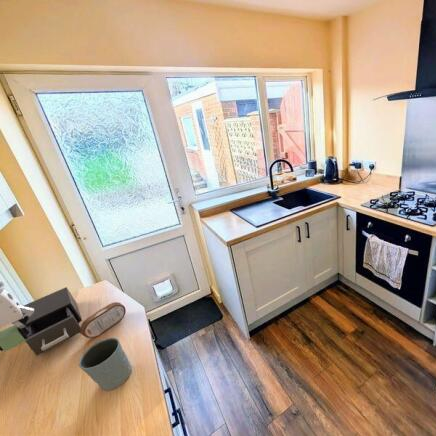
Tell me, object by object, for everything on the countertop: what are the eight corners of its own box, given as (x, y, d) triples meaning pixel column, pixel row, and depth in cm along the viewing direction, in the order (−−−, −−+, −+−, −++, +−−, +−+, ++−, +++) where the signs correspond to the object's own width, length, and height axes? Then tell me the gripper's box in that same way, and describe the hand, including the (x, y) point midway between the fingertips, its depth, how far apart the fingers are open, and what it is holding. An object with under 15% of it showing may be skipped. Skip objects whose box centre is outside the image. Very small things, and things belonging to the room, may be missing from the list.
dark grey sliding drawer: (85, 339, 92) (75, 324, 88) (37, 366, 83) (24, 351, 80) (77, 313, 105) (68, 299, 102) (35, 334, 97) (24, 319, 93)
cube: (4, 351, 71) (-5, 341, 69) (5, 343, 74) (-3, 332, 72) (25, 341, 74) (17, 331, 72) (25, 333, 76) (17, 323, 75)
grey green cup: (139, 371, 79) (125, 345, 73) (105, 401, 71) (86, 375, 66) (125, 356, 84) (110, 332, 79) (91, 383, 77) (72, 358, 72)
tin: (126, 312, 104) (118, 297, 100) (130, 315, 102) (122, 299, 98) (85, 340, 92) (74, 324, 89) (89, 344, 91) (78, 327, 87)
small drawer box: (82, 320, 102) (70, 302, 98) (35, 344, 93) (20, 326, 89) (76, 303, 113) (66, 286, 109) (34, 323, 104) (21, 306, 99)
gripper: (20, 274, 74) (51, 318, 81) (-70, 306, 63) (-25, 354, 71) (19, 284, 69) (52, 330, 76) (-79, 322, 58) (-29, 371, 66)
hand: (15, 341), depth 74 cm, fingers closed on cube, 4 cm apart
